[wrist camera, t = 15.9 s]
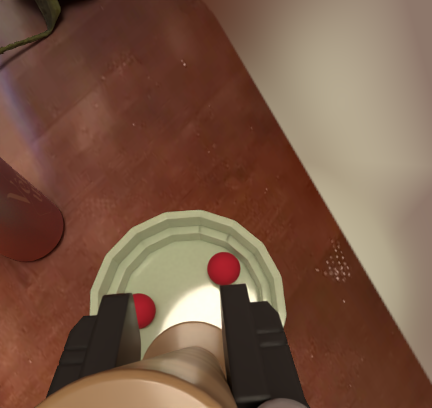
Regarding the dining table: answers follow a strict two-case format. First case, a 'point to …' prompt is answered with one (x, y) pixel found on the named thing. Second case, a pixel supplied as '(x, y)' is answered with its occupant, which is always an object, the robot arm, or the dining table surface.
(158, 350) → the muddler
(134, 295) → the red ball
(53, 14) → the artificial flower
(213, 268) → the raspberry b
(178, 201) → the dining table surface
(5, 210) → the beverage can
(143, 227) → the bowl
